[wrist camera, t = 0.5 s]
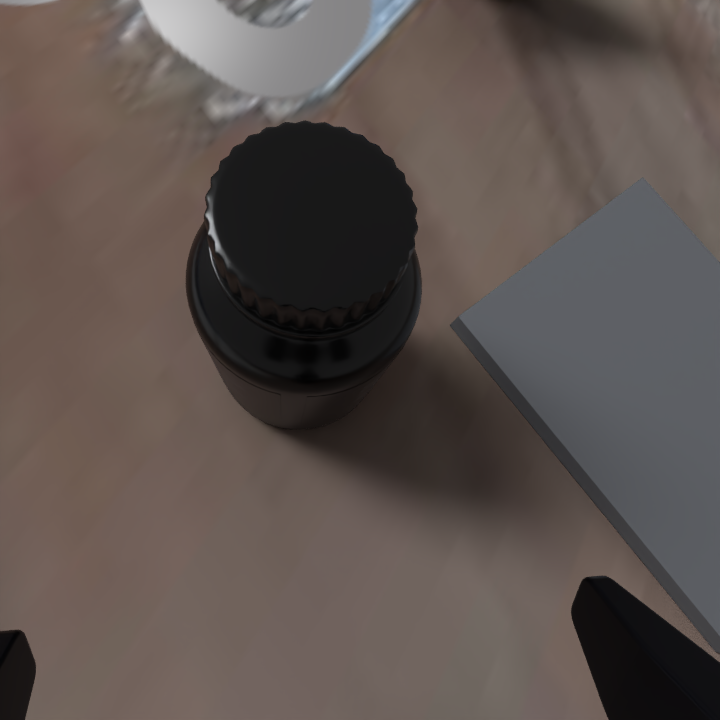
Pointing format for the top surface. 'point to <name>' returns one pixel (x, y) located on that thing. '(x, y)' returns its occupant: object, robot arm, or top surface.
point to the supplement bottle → (305, 272)
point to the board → (624, 381)
